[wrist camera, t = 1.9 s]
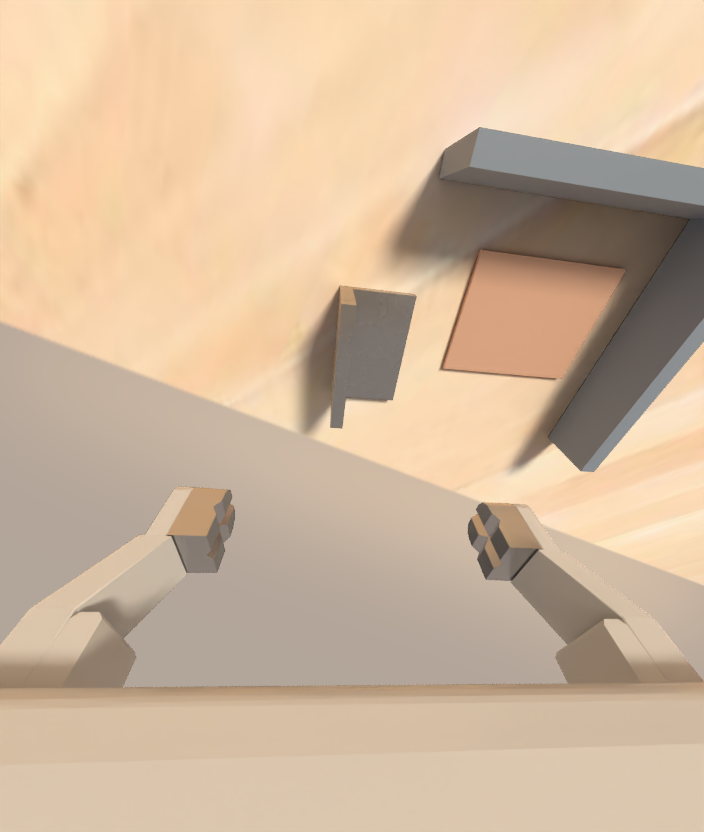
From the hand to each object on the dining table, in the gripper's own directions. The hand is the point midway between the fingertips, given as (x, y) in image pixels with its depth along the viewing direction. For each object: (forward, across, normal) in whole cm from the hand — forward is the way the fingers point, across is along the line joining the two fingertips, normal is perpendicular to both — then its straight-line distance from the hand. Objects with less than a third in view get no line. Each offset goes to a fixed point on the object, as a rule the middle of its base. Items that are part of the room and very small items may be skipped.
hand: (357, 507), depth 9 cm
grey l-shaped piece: (+14, -12, -2) cm, 19 cm away
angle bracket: (+14, -2, 0) cm, 14 cm away
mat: (+14, -12, -3) cm, 19 cm away
